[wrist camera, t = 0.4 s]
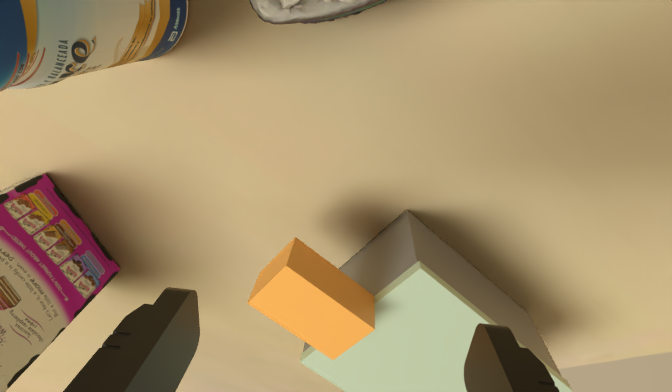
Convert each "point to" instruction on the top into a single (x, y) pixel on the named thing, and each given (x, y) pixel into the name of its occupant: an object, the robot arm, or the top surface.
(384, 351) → the lid
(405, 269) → the tub
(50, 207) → the candy bar box
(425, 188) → the top surface
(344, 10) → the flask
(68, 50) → the beverage bottle
